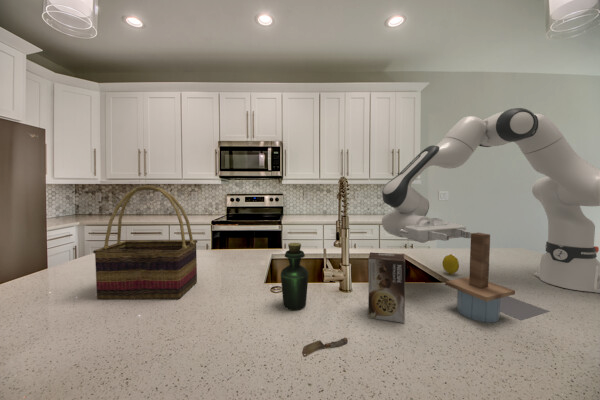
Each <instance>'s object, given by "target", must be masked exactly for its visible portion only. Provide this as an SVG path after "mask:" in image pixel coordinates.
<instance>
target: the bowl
mask: <svg viewBox="0 0 600 400" xmlns="http://www.w3.org/2000/svg"><path fill="white" fill-rule="evenodd" d="M456 290H457V289H456ZM500 302H501V298H499V299H495V300H491V301H487V302H486V301H484V300H481V299H479V298H476V297H474V296H472V295H469V294H467V293H464V292H462V291H459V290H457V293H456V310H457V311H458V312H459V314H460V315H463V316H464V317H466V318H468V319H471V320H473V321H478V322H482V323H498V321H499V320H500V319H501V312H500Z"/></svg>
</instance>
